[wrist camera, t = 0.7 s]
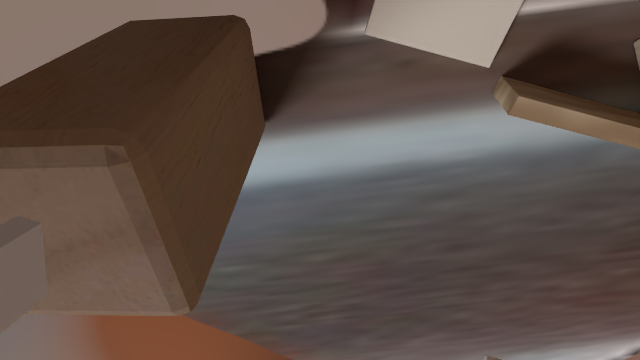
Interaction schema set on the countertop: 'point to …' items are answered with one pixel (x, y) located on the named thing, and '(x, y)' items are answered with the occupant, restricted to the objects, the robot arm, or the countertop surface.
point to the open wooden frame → (568, 112)
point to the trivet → (445, 26)
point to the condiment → (637, 51)
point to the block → (132, 161)
